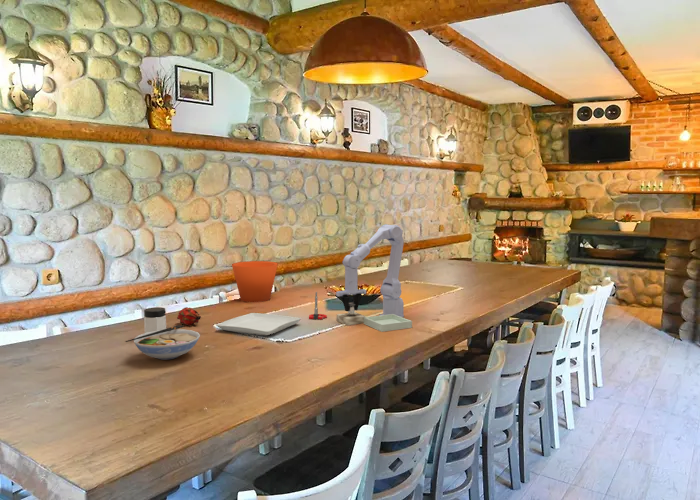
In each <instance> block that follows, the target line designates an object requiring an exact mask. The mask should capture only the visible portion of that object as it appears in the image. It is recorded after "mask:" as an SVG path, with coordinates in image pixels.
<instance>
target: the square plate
mask: <svg viewBox="0 0 700 500" xmlns="http://www.w3.org/2000/svg"><path fill="white" fill-rule="evenodd" d="M300 320H302V317H295V316H288V315H280V314H272V313H262V312H261V313H257V312H250V313H247V314H244V315H239V316H236V317H233V318H230V319H227V320H225V321H222V322H221V323H217V324H215V326H216V327H218V328H219V329H220V330H224V331H227V332H232V333H239V332H240V334H246V333H249V335H254V334H256V336H270V334H271V335H273V333H274V334H276V333H278V332H280V331H282V330H285V329H287V328H289V327H292V326H294V325H296V324H297V323H299V322H300Z"/></svg>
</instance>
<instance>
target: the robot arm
mask: <svg viewBox="0 0 700 500" xmlns="http://www.w3.org/2000/svg"><path fill="white" fill-rule="evenodd" d="M403 232H404V230H403V229H402V228H401V226H399V225H397V224H387V223H385V224H383V225H381V226H380V227H379V228H378V229H377V231H376V232H375V233H374V234H373V235H372V237H370V238H369V239H368V241H367V242H365V243H359V244H358V245H357V248H355V249H354V250H353V251H351V252H350V254H347V255H345V256H344V257H343V260H342V265H343V266H344V290H340V291H339V290H338V291H336V292H335V293H336V294H335V296H336V297H340V298H339V299H341V301H342V304H343V306H344V311H346V312H348V310H349V303H350V297H349V296H352V297H353V303H356V305H355V308H354V311H358V310H359V309H358V308H359V305H360V303H361V300H362V298H363V295H366V294H367V289H365V288H362V289H358V286H359V285H358V278H359V277H358V274H359V273H358V269H359V268H358V267H360V265H361V262H362V261H363V260H364V259H365V258H366V257H367V256H368V255H370V253H371V249H373V248H375V246H376V245H377V244H378V243H380V242H381V241H383V240H387V242H388V243H390V245H391V248H390V253H389V254H390V255H389V261H388V266H387V273H386V277H385V278H384V279H383V280H382V285H381V286H380V288H379V289H380V294H381V295H382V299H383V300H382V313H380V314H379V316H380V315H388V314H394V315H397V316H400V317H403V318H405V315H404V311H405V310H404V309H405V308H404V306H405V304H404V300H403V298H402V297H401V295H402V287H401V286H402V283H401V281H400V280H399V277H400V269H401V264H402V262H401V261H402V256H403V249H404V243H405V242H404V237H403V234H404V233H403Z"/></svg>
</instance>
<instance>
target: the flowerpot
mask: <svg viewBox="0 0 700 500" xmlns="http://www.w3.org/2000/svg"><path fill="white" fill-rule="evenodd" d="M278 264H279V263H278V262H274V261H267V260H266V261H265V260H263V261H262V260H253V261H252V260H249V261H248V260H247V261H237V262H233V263H231V267H232V270H233V271H232V272H233V274H234V279H235V281H236V282H235V284H236V287H237V290H238V291H237V292H238V294H239V295H238V296H239V298H240V301H241V302H245V303H262V302H263V303H264V302H268V301H270V300H271V296H272V292H273V288H274V283H275V278H276V273H277V269H278Z"/></svg>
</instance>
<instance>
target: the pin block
mask: <svg viewBox="0 0 700 500" xmlns="http://www.w3.org/2000/svg"><path fill="white" fill-rule="evenodd" d="M364 317H367V316H366V315H363V314H361V313H358V312H356V311H354V316H351V317H349V316H348V312H346V313H337V314H336V321H337V322H339V323H341V324H343V325H345V326H353V325H361V324H364Z"/></svg>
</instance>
